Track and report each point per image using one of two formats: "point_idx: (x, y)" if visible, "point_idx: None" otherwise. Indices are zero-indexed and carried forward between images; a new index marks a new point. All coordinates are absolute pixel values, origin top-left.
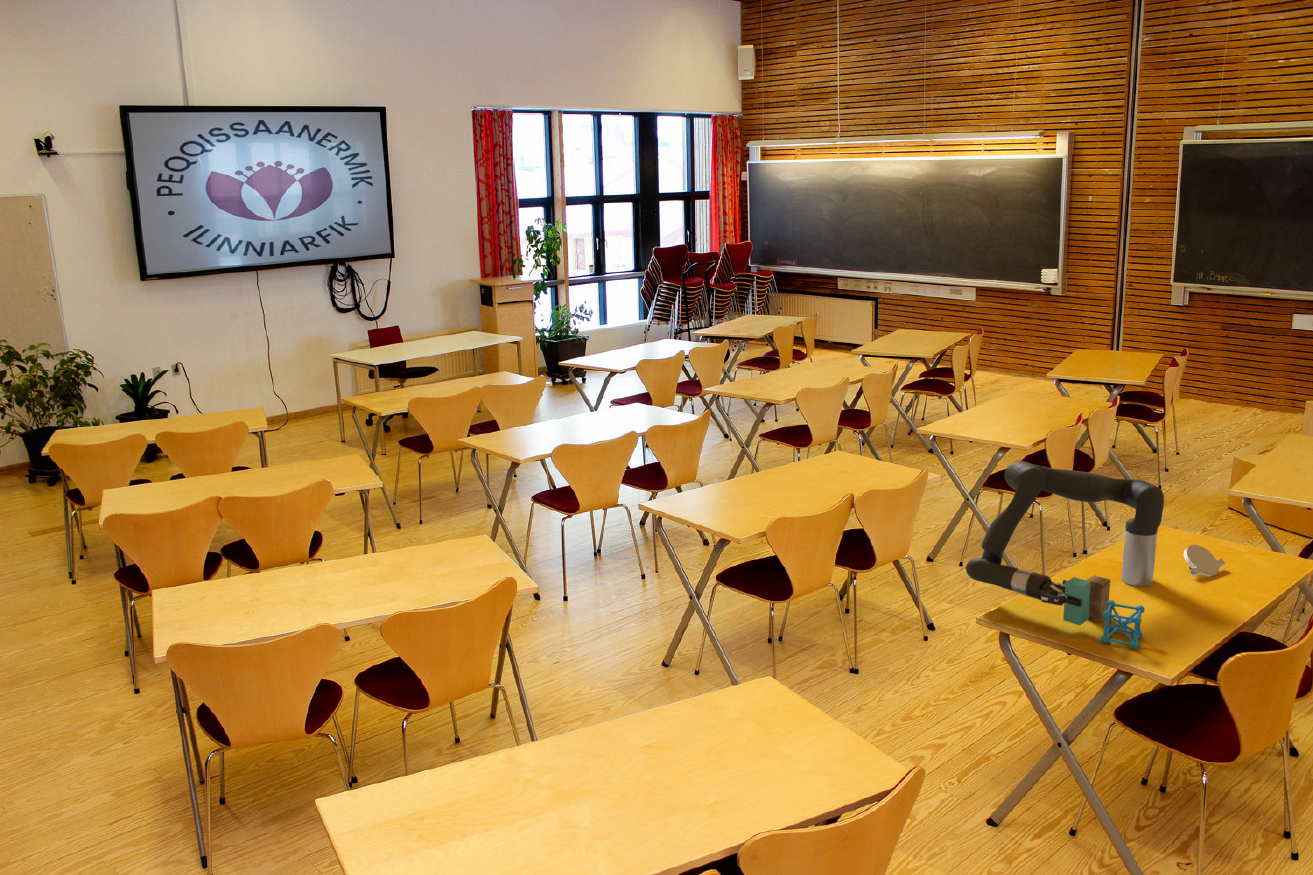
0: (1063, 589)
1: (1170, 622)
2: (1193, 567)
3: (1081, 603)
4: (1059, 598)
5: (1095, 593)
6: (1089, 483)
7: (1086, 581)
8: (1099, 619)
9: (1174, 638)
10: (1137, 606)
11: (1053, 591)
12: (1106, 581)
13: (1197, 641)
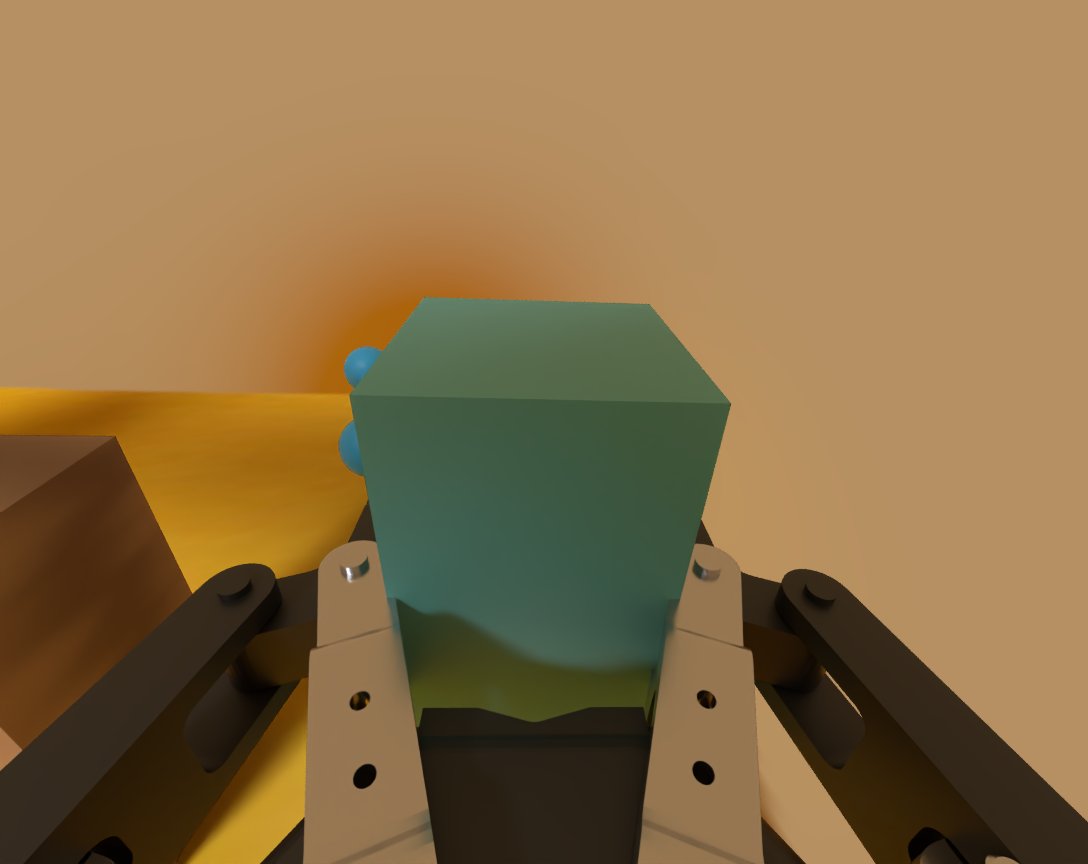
0: (484, 730)
1: (150, 481)
2: None
3: None
4: (850, 606)
5: (117, 589)
6: None
7: (446, 311)
8: None
9: (331, 441)
10: (373, 359)
11: (769, 848)
12: None
13: (324, 408)
